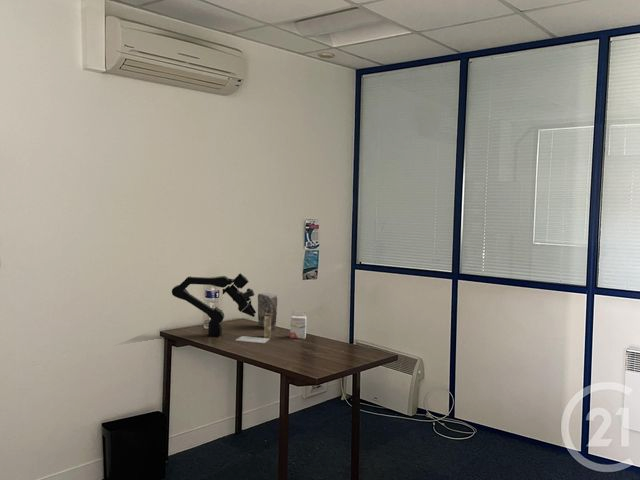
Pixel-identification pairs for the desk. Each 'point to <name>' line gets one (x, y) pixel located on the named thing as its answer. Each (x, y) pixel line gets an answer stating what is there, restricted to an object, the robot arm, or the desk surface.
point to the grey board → (252, 339)
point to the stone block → (267, 308)
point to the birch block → (267, 325)
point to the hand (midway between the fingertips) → (254, 314)
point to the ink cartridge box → (298, 324)
